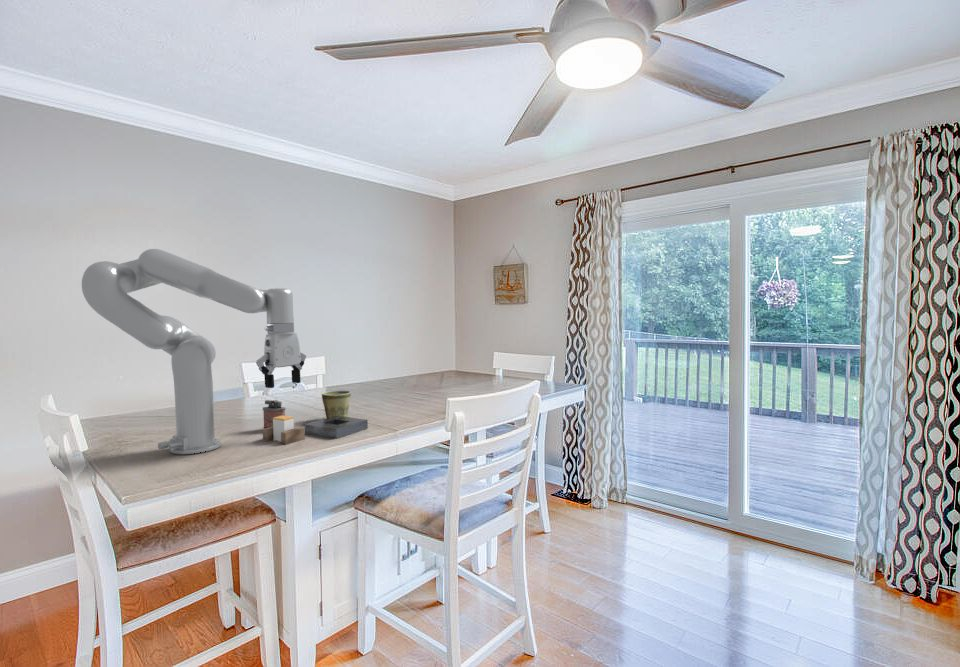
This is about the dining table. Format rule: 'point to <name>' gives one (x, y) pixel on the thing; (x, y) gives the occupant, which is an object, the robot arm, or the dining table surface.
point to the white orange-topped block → (282, 425)
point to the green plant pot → (336, 403)
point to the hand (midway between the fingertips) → (283, 385)
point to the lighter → (272, 412)
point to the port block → (336, 426)
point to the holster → (285, 435)
